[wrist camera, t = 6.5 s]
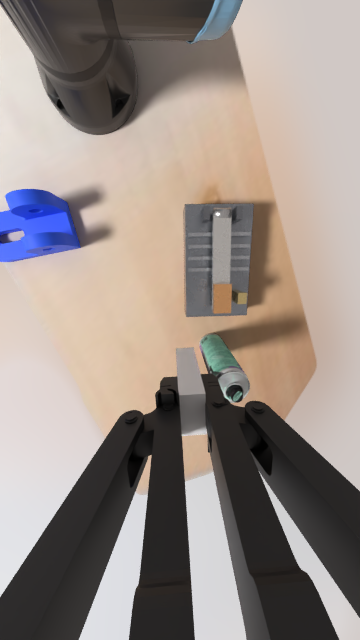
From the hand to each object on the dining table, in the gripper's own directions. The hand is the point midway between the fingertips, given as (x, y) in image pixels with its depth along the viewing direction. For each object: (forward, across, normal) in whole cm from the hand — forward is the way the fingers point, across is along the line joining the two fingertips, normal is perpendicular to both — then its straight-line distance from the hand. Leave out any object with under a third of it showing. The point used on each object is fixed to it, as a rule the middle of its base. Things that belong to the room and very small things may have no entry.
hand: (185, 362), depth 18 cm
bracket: (+29, -28, +15) cm, 43 cm away
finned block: (+29, +8, +8) cm, 31 cm away
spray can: (+29, +7, -10) cm, 31 cm away
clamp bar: (+22, +8, +8) cm, 25 cm away
